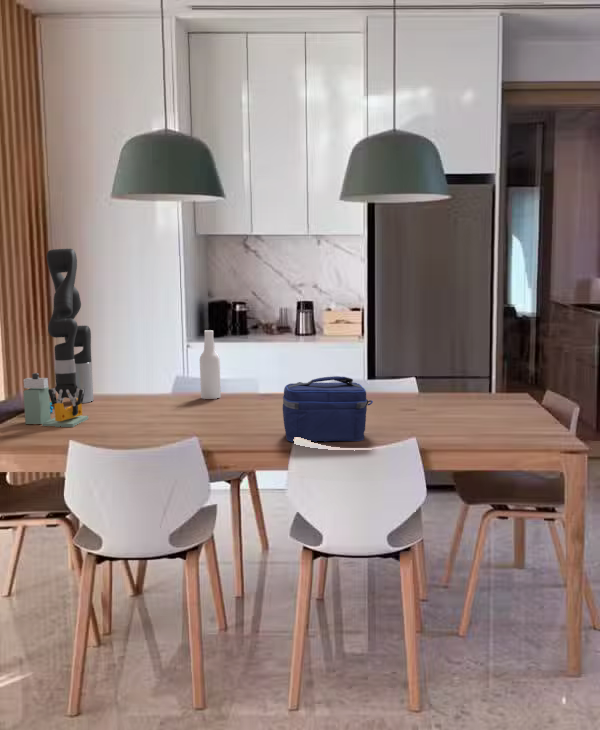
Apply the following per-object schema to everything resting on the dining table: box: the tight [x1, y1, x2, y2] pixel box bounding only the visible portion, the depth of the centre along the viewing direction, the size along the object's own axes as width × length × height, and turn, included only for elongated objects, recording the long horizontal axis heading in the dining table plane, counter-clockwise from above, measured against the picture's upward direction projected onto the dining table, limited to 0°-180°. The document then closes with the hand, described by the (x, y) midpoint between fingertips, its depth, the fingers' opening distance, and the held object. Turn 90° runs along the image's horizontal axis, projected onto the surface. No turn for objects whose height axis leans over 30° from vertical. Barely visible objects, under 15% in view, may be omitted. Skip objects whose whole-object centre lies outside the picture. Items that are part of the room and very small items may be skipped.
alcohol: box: [199, 329, 222, 400], centre depth 351 cm, size 9×9×30 cm
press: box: [23, 386, 89, 428], centre depth 305 cm, size 15×20×13 cm
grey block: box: [23, 372, 49, 389], centre depth 305 cm, size 4×8×5 cm, turn 83°
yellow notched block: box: [53, 398, 83, 421], centre depth 305 cm, size 12×4×6 cm, turn 155°
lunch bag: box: [282, 375, 374, 443], centre depth 276 cm, size 31×21×20 cm
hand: (67, 415), depth 305 cm, fingers closed on yellow notched block, 5 cm apart
